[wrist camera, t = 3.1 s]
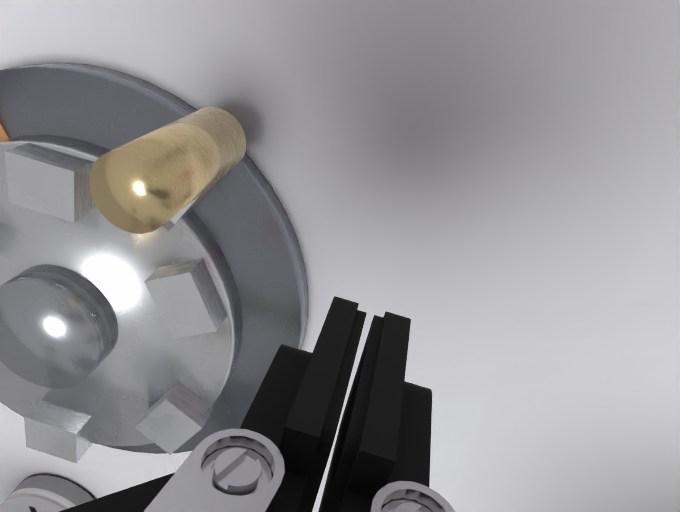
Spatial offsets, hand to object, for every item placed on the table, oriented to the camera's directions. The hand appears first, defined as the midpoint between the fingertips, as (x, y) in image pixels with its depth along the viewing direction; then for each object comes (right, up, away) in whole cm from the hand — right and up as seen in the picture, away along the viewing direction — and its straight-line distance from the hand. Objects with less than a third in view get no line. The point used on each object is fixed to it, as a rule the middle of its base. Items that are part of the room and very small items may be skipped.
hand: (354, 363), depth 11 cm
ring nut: (-11, +2, +12) cm, 16 cm away
